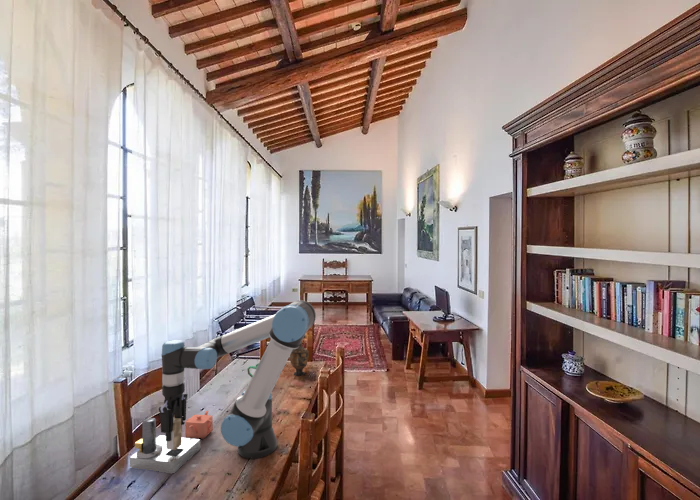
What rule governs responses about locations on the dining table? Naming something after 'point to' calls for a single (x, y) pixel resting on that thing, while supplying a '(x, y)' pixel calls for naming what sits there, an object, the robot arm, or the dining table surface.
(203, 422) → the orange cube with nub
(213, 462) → the dining table surface
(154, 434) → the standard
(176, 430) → the tan wooden block
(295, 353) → the vase
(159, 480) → the dining table surface
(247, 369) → the mug
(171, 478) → the dining table surface
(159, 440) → the white base plate
